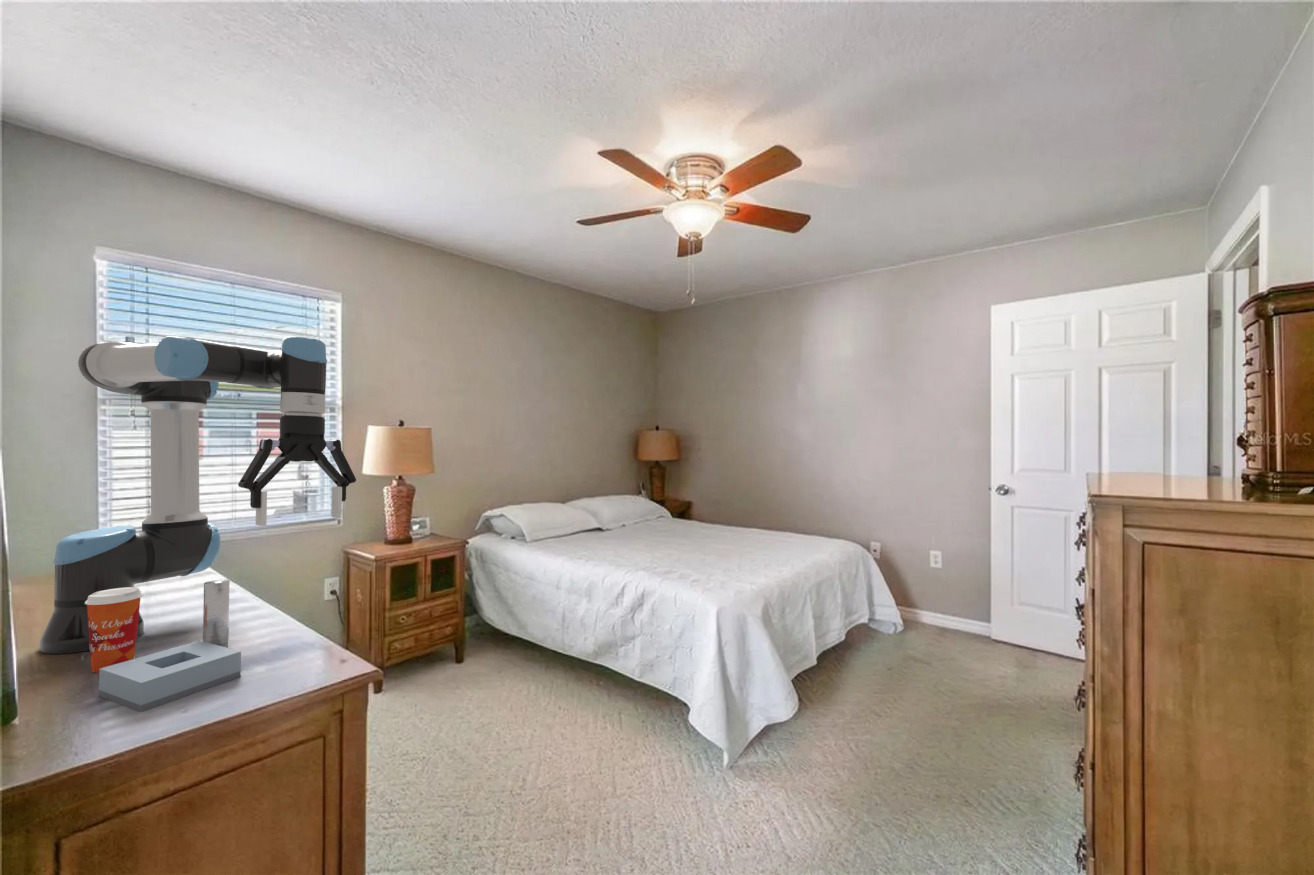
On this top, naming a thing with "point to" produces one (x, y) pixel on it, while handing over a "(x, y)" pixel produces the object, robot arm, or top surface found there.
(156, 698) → the socket block
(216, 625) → the pin
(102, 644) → the paper cup
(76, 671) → the top surface
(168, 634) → the top surface
